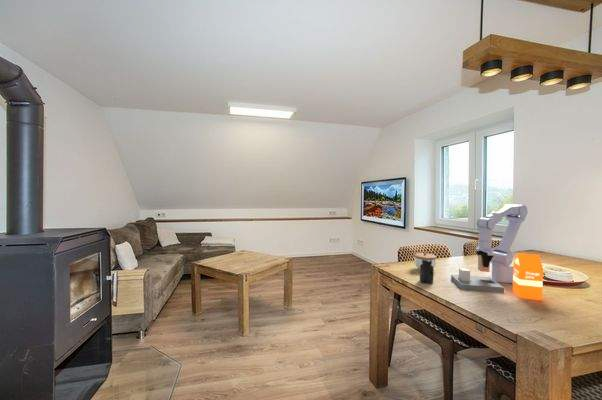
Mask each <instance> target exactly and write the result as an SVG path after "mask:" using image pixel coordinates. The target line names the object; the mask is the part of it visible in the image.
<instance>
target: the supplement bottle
mask: <svg viewBox="0 0 602 400" xmlns="http://www.w3.org/2000/svg"><path fill="white" fill-rule="evenodd" d="M431 264H432V260H429V259H422V264H421V265H420V270H419V282H421V283H422V284H428V285H429V284H430V285H431V284H433V283H434V274H435V273H434V272H435V271H434V268H435V267H433V266H432V265H431Z"/></svg>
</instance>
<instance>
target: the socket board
mask: <svg viewBox="0 0 602 400" xmlns="http://www.w3.org/2000/svg"><path fill="white" fill-rule="evenodd" d="M450 277H451V278H450V280H451V281H452V282H454V283H455V285H457V287H458V288H459V289H460V290H465V291H466V290H467V291H478V292H479V291H480V292H490V293H505V287H504V286H503V285H501V284H500V283H499V282H496V281H494V280H493V279H491V278H490V277H491V276H478V275H474V276H473V275H471V270H470V269H468V268H463V267H462V268H461V267H459V269H458V274H451V275H450Z"/></svg>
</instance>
